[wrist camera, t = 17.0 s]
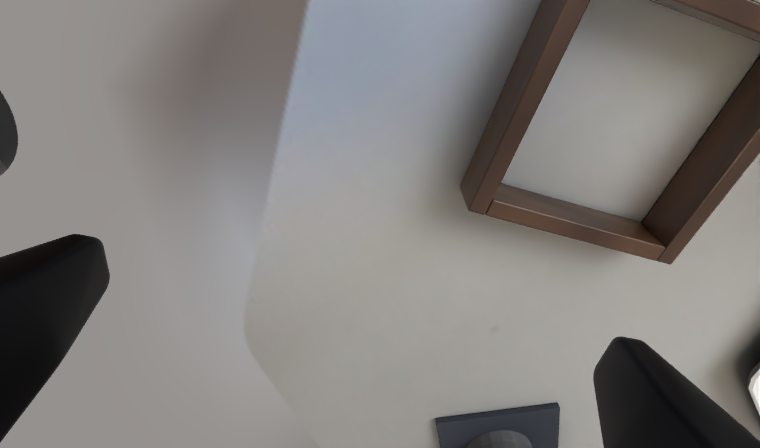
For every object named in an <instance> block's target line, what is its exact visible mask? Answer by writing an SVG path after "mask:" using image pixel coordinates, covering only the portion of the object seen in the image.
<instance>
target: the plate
mask: <svg viewBox="0 0 760 448" xmlns="http://www.w3.org/2000/svg"><path fill="white" fill-rule="evenodd" d="M746 387H747V389H748V391H749V394H750V396H751V398H752V401H753V403H754V405H755V408H756V410H757V412H758V415H759V417H760V362H759V363H758V364H757V365H756V366H755V367H754V368H753V370H752V371H751V372H750V373H749V377H748V380H747V383H746Z"/></svg>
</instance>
